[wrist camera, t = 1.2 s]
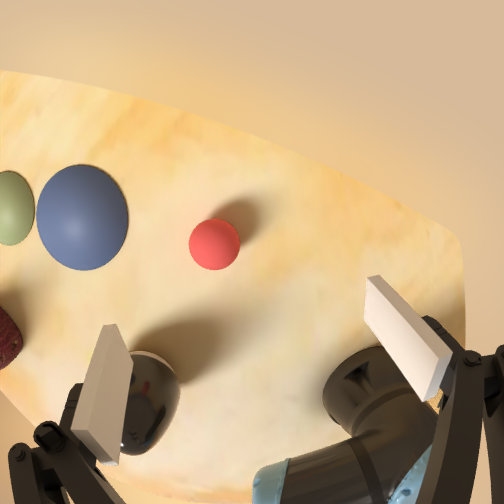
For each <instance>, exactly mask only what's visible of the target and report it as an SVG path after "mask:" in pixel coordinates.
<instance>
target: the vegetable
mask: <svg viewBox="0 0 504 504" xmlns="http://www.w3.org/2000/svg"><path fill="white" fill-rule="evenodd" d="M22 344H23V340H22V335H21V333H20V331H19V329H18V327H17V326H16V324H15V323H14V322H13V320H12V319H11V318H10V317H9V315H8V314H7V313H6V311H5V310H3V309H2V308H1V307H0V370H1V369H3V368H5V367H6V366H8V365H9V364H10V363H11V362H12V361H13V360H14V359H15V358H16V357H17V355H18V354H19V352H20V351H21V349H22Z"/></svg>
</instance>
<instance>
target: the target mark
mask: <svg viewBox="0 0 504 504" xmlns="http://www.w3.org/2000/svg"><path fill="white" fill-rule="evenodd" d="M36 220H37V228H38V232H39V235H40V238H41V240H42V242H43V244H44V246H45V248H46V249H47V251H48V252H49V253H50V254H51V256H52V257H54V258H55V259H56V260H57V261H58V262H60V263H61V264H63V265H64V266H66V267H69V268H71V269H75V270H93V269H96V268H99V267H101V266H103V265H105V264H106V263H108V262H109V261H110V260H111V259H112V258H113V257H114V256H115V255H116V254H117V252H118V251H119V249H120V248H121V246H122V244H123V241H124V239H125V235H126V231H127V221H128V218H127V209H126V204H125V201H124V198H123V196H122V194H121V191H120V190H119V188H118V187H117V185H116V184H115V183H114V181H113V180H112V179H111V178H110V177H109V176H108V175H106V174H105V173H103V172H102V171H100V170H98V169H96V168H93V167H90V166H82V165H77V166H71V167H68V168H65V169H63V170H61V171H59V172H58V173H56V174H55V175H54V176H53V177H52V178H51V179H50V180H49V181H48V182H47V183H46V185H45V186H44V188H43V190H42V192H41V194H40V197H39V200H38V205H37V212H36Z"/></svg>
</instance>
